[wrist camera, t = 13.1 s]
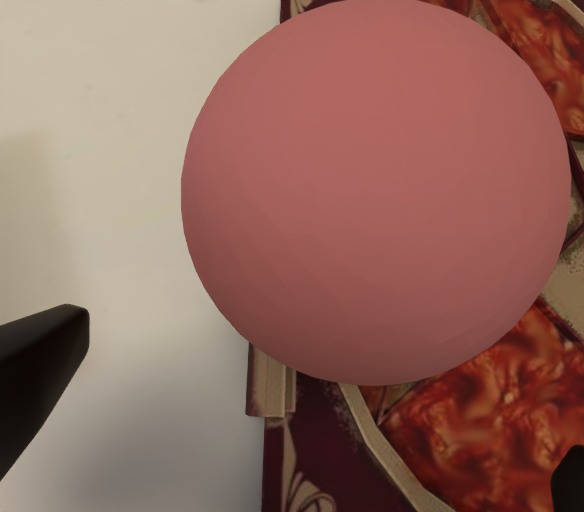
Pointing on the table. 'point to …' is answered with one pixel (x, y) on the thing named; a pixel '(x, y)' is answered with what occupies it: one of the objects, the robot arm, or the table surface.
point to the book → (462, 379)
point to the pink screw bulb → (376, 191)
